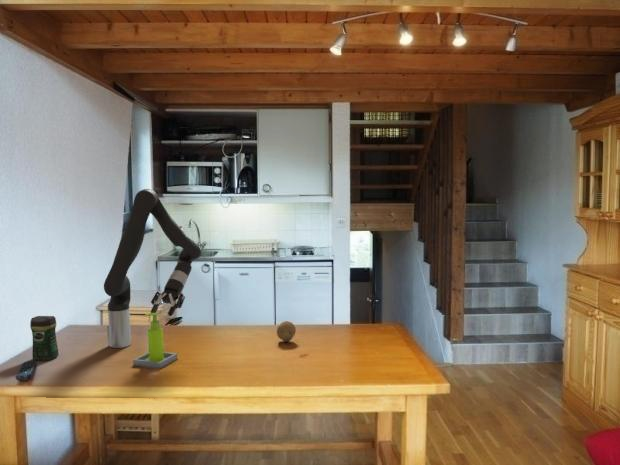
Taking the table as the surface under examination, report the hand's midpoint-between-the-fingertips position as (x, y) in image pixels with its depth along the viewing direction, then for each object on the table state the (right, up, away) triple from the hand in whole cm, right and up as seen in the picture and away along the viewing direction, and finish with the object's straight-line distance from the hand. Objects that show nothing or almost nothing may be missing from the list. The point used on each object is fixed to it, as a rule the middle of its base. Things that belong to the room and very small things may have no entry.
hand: (160, 314), depth 205 cm
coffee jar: (-51, -20, +4) cm, 55 cm away
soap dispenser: (-2, -19, -2) cm, 19 cm away
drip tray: (-1, -20, -3) cm, 20 cm away
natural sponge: (+52, -17, +21) cm, 59 cm away
